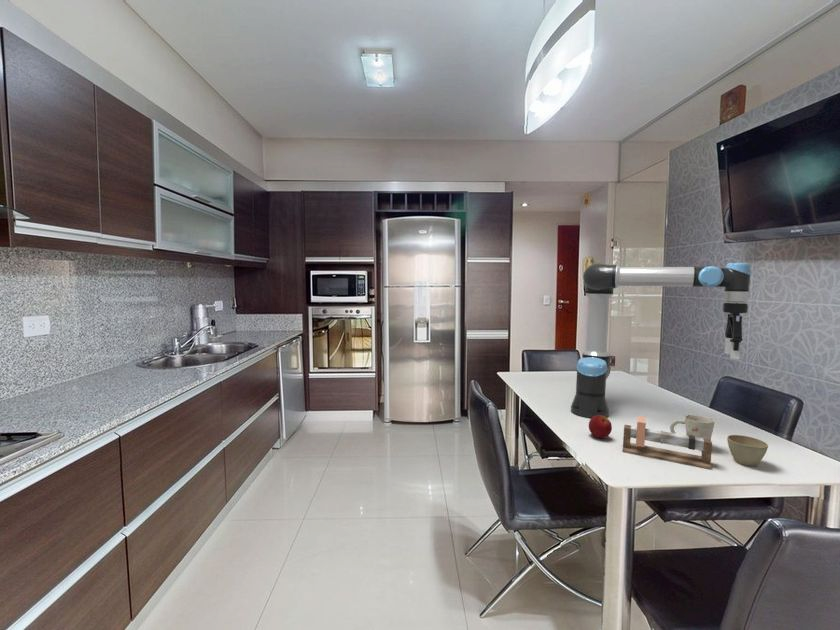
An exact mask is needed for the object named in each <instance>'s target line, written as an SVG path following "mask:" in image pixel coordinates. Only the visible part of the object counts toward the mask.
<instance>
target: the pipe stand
mask: <svg viewBox="0 0 840 630" xmlns="http://www.w3.org/2000/svg"><path fill="white" fill-rule="evenodd" d="M675 433H676V432H675ZM675 433H671V432H668V431H663V430H657V429H652V428H651V429H650V428H646V427H645V441H646V442H647V441H648V442H653V443H659V444H665V445H669V446H670V445H671V446H675V447H679V448H680V447H681V448H687V449H688V450H692V451H697V450H698V451H701V454H700V455H699V454H698V455H697V454H693V453H688V452H682V451H676V450H672V449H665V448H662V447H661V448H660V447H655V446H649V445H645V444H644V447H640V446H636V442H631V438H632V439H636V435H637V426H633V425H629V424H624V426H623V438H622V439H623V441H622V449H621V450H622V453H627V454H630V455H637V456H642V457H645V458H652V459H656V460H662V461H666V462H671V463H677V464H681V465H685V466H686V465H687V466H691V467H696V468H702V469H706V470H712V463H711V461H712V449H713V441H712V438H711V439H708V438H699V437H695V436H692V435H688V436H687V435H686V434H680V433H676V434H675Z"/></svg>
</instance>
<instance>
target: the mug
mask: <svg viewBox="0 0 840 630" xmlns="http://www.w3.org/2000/svg"><path fill="white" fill-rule="evenodd" d="M677 424H681V425H685V431H686V432H685V435H687V436H688V435H692V436H695V437H699V438H708V439H711V440H712V436H713V431H714V427H715V420H714V419H713V418H711V417H708V416H704V415H698V414H686V415H685V416H684V419H683V420H682V419H675V420H673V421H672V422H671V423H670V425H669V430H670V433H675V434H677V432H676V431H675V426H676V425H677Z"/></svg>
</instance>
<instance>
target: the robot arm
mask: <svg viewBox="0 0 840 630" xmlns="http://www.w3.org/2000/svg"><path fill="white" fill-rule="evenodd" d="M582 279H583V283H584V284H585V291H584V292H585V293H584V294H585V295H586V297H587V298H588V304H587V305H588V306H587V324H586V326H587V327H586V342H585V343H586V348H585V350H584V351H583V352H582V356H581V358H579V359H578V361H577V363H576V383H575V385H576V386H575V395H574V397H573V400H572V403H571V405H570V412H571V413H572V414H574V415H576V416H579V417H583V418H587V419H591V418H593V417H594V416H597V415H602V416H605V417H606V418H608V417H609V415H610V409H609V406H608V403H607V399H606V389H607V388H606V386H607V379H608V378H609V376H610V374H611V365H610V361H611V360H610V359H611V354H610V353H609V352H608V351H607V347H608V329H609V327H608V326H609V314H610V313H609V311H610V298H611V297H612V296H614V290H615V289H617V288H619V287H689V288H690V287H691V288H724V291H723V305H722V312H724V313H727V318H726V326H725V327H726V328H725V332H724V335H725V343H724V354H725V355H730V356H729V359H730V360H740V357H741V342H743V327H742V326H743V324H742V322H743V316H742V315H741V314H747V313H748V311H749V309H748V308H749V304H748V302H749V298H750V297H751V294H750V293H749V292H750V284H751V264H750V263H748V262H729V263H726V265H725V267H723V268H722V267H720V268H719V267H717V266H715V265H714V266H713V265H709V266H650V267H649V266H648V267H647V266H642V267H641V266H636V267H634V266H630V267H629V266H627V267H626V266H624V267H623V266H622V267H621V266H620V265H619V264H606V263H605V264H604V263H599V262H596V263H593V264H591V265H589V266H587V267H586V268H585V270H584V272H583V275H582Z"/></svg>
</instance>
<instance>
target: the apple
mask: <svg viewBox="0 0 840 630" xmlns="http://www.w3.org/2000/svg"><path fill="white" fill-rule="evenodd" d="M612 427H613V426H612V422H611V421H610V419H608V417H605V416H602V415H597V416H594V417H593V418H590V420H589V422H588V430H589V432H590V434H591V435H593V436H594V437H595V438H598V439H604V438H607V437H608V436H610V434H611V433H612V430H613V429H612Z"/></svg>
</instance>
